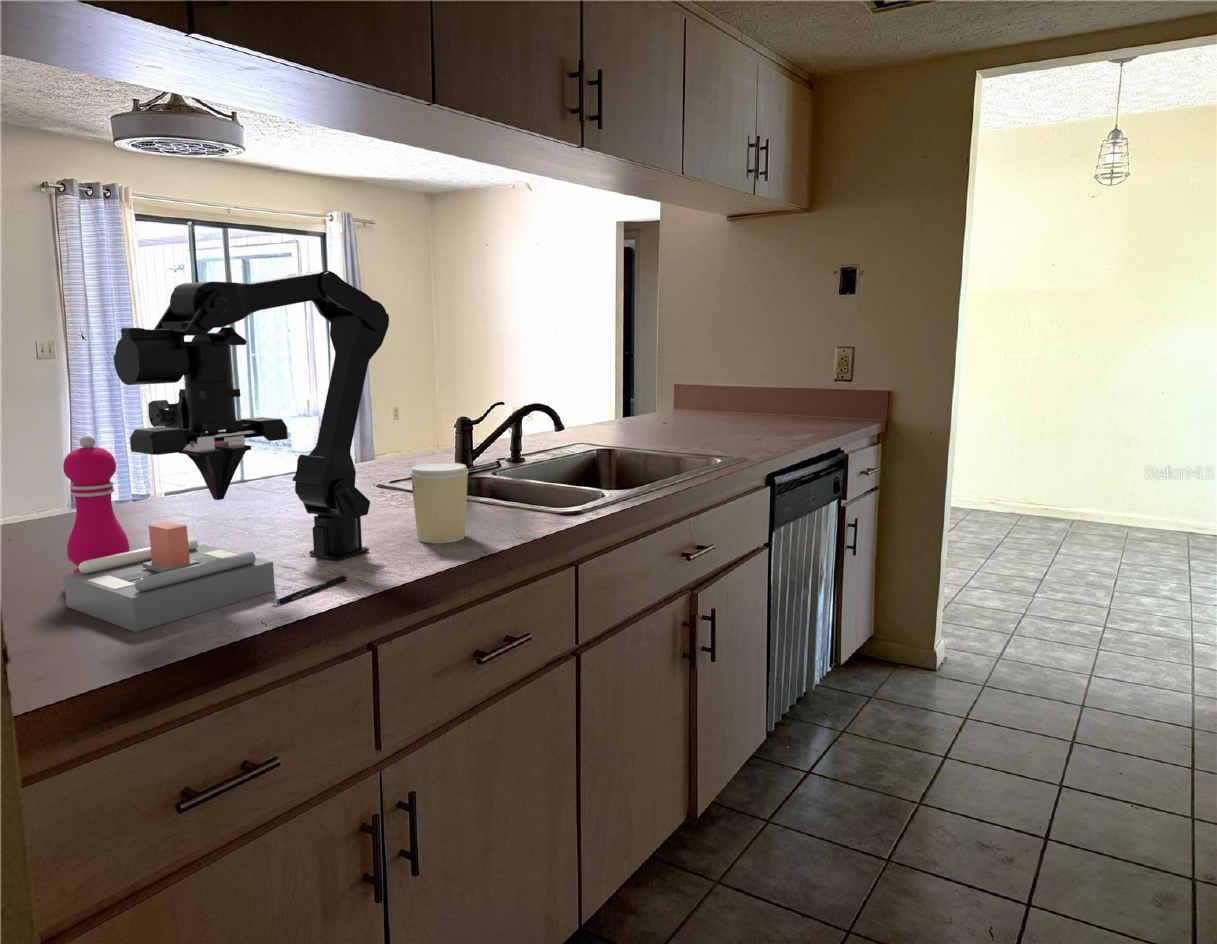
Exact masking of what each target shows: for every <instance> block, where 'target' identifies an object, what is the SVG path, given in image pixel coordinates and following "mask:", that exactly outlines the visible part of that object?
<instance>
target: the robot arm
mask: <svg viewBox="0 0 1217 944" xmlns="http://www.w3.org/2000/svg"><path fill="white" fill-rule="evenodd" d="M306 302H312V303H313V305H314V306H315V309H316V310H317V312H318V313H319V315H320V316H321V317H323V318H324V320H326V321H327V322H329V323H330V329H329V336H330V341H331V343H332V346H333V349H334V361H333V365H332V369H331V375H330V380H329V384H328V389H327V393H326V398H325V403H324V408H323V412H322V417H321V421H320V422H321V423H320V426H319V432H318V437H317V441H316V445H315V447H314V448H313V449H312V451H310V453H309V454H302V453H301V454H299V455H298V458H297V461H296V463H297V464H296V471H295V474H294V476H293V478H292V482H295V486H294V491H295V494H296V495H297V497H298V499H299V501H301V502H302V503H303V506H304V508H305V511H306V513H307V514H309V515H311V514H312V515H314V516H313V523H314V526H312V542H313V543H312V544H313V549H312V550H309V555H312V556H316V557H321V558H323V559H328V560H329V559H330V560H334V561H337V560H338V561H339V560H341V559H346V558H349V557H352V556H357V555H360V554H364V553H367V552H370V548H369V547H366V546H363V543H362V542H363V541H362V523H361V522H362V521H361V517H364V516H367V515H369V514H368V513H369V509H370V505H371V500H369V498H368V497H367V496H365V495H364V494H363V493H362V492H361V491H360V490H359V489H358V488H357V487H356V477H357V476H356V474H357V471H356V468H355V464H354V461H353V457H352V454H351V450H352V449H351V448H352V445H353V444H352V443H353V439H354V434H355V430H356V424H357V421H358V416H359V411H360V404H361V399H362V396H363V391H364V385H365V381H366V376H367V371H368V366H369V362H370V360H371V359H372V357H374V355H375V354H376V353H377V352H378V350H379V349H380V348H381V347H382V345H383V342H384V340H385V337H386V334H387V332H388V328H389V327H390V326H389V325H390V315H389V313H387V311H386V308H385V307H384V305H383V304H382V303H380V302H379V301H378V300H374V299H372V298H371V296H369V295H368V293H366V292H364V291H362V290H360V289H358V288H356V287H355V286H353V285H351V284H349V283H347V282H346V281H345V280H343V279H342V278H341V277H340V276H339V275H338V274H336V273H335V272H333V271H332V270H327V269H326V270H312V271H311V270H310V271H307V272H305V273H303V274H302V273H301V274H297V275H296V274H295V275H289V276H283V277H277V278H269V279H263V280H257V281H252V282H245V283H242V282H235V281H234V282H233V281H231V282H230V281H229V282H228V281H198V282H184V283H181V284H178V285H177V286H175V287H173V291H172V293H171V295H170V299H169V305H168V307H167V309H166V310H165V312H164V313H163V314H162V316H161V318H160V319H159V321H158V322H157V324H156V325H155V327H154V328H153V329H149V328H148V329H147V328H143V327H122V328H120V335H121V338H120V339H119V340H118V341H117V344H116V348H115V354H114V355H113V365H114V369H115V372H116V375H117V377H118V378H119V380H120V381H121V382H122V383H123V384H124V385H127V386H135V385H136V386H138V385H140V386H141V385H157V384H158V385H159V384H160V385H161V384H175V383H178V382H180V381H181V379H182V377H183V379H184V388H180V389H179V392H178V402H177V403H169V401H168V400H167V399H161V400H158V399H157V400H152V401H150V402H148V403H147V405H148V406H147V407H148V408H147V409H148V419H149V422H150V425H151V426H152V427H146V428H145V427H144V428H136V429H134V430H133V432H132V433H131V436H130V438H129V444H130V451H131V452H132V453H139V454H145V455H152V456H154V455H155V456H160V455H168V454H175V453H176V454H181V455H185V456H188V458H189V459H191V460H192V461H193V463H194V464H195V466H196V467H197V468H198V471H199V472H200V475H201V477H202V478H203V480H204V482H205V484H206V487H207V489H208V491H209V494H210V495H211V496H212V498H213V500H214V501H220V500H224V499H225V496H226V495H227V492H228V490H229V487H230V484H231V482H232V480H233V478H234V475H235V473H236V471H237V468H238V466H239V465H240V464H241V463H240V462H241V461H242V459H243V457H244V455H245V454H246V452H247V451H252V446H251V445H247V444H246V442H245V439H249V438H250V439H252V438H259V437H263V438H264V439H266V441H268V442H273V441H281V440H288V439H289V434H288V433H289V431H288V426H287V424H286V423H285V422H284V419H282V418H273V417H264V416H260V417H259V416H258V417H250V418H240V419H237V412H236V400H235V399H236V398H238V397H239V398H240V397H241V388H235V386H234V372H233V360H232V359H233V358H232V346H245V345H247V343H248V342H247V340H246V339H245V338H244V337H242V335H240V334H238V333H237V331H236V330H235V329H234V327H231V326H230V325H232V324H234V323H237V322H239V321H241V320H244V319H246V318H248V317H249V315H252V314H254V313H257V312H258V311H259V312H260V311H263V310H268V309H274V308H280V307H283V306H284V307H285V306H290V305H295V304H301V303H306ZM227 326H228V327H227ZM215 328H217V329H218V328H220V329H219V330H218V331H217V332H210V331H212V330H213V329H215ZM185 336H186V337H187V336H193V337H192V339H191V341H188V340H187V341H185Z"/></svg>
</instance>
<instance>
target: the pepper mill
mask: <svg viewBox="0 0 1217 944" xmlns="http://www.w3.org/2000/svg"><path fill="white" fill-rule="evenodd" d="M79 445H80V447H79V448H76V449H74V450H72V451H70V452H69V453H68V454H67V455H66V457H65V458H64V460H63V464H62V466H63V469H62V470H63V473H64V476H65V477H66V478H68V480H70V481H71V482H72V484H71V485H70V486H69V489H70V496H73V497H74V501H75V505H76V507H75V510H76V511H75V513H76V515H75V520H74V524H73V527H72V530H71V533H70V535H69V537H68V540H67V545H66V547H67V548H66V551H67V553H66V554H67V558H68V560H69V561H70V562H71V563H72V564H74V565H75V566H76V567H77V568H76V569H74V571H73V573H77V572H80V571H79V565H80V563H82V562H83V561H87V560H92V559H97V558H101V557H106V556H111V555H116V554H120V553H125V552H130V543H129V539H128V537H127V534H126V532H125V531H124V529H123V527H122V525H121V524H120V522H119V521H118V519H117V517H116V514H115V512H114V509H113V504H112V503H113V502H112V493H114V492H115V488H114V485H115V483H114V482H113V481H111V479H112V477H113V476H114V475H115V473H116V471H117V463H116V459H115V457H114V456H113V454H112V453H111V452H110V451H108V450H107V449H105V448H102V447H97V446H96V439H95V438H94V437H93V436H91V435H84V436H81V438H80V439H79Z"/></svg>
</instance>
